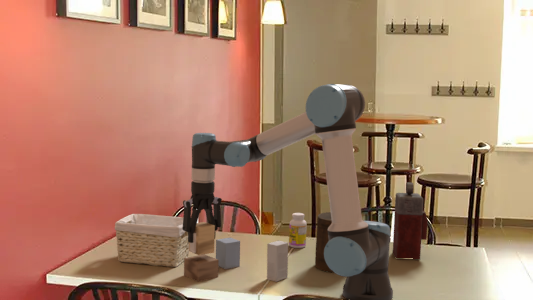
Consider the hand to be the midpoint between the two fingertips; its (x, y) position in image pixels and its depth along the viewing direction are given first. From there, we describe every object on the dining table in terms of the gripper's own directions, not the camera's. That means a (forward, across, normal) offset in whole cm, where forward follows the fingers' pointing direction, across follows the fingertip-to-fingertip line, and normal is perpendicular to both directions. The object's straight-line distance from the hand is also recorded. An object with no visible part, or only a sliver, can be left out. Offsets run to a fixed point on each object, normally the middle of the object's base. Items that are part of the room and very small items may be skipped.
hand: (201, 250), depth 221 cm
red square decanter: (+8, -78, +22) cm, 82 cm away
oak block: (0, 0, 0) cm, 0 cm away
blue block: (+9, -14, -5) cm, 17 cm away
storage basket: (+9, +4, -25) cm, 26 cm away
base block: (+9, 0, 0) cm, 9 cm away
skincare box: (+9, -19, +16) cm, 26 cm away
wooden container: (+9, -45, +17) cm, 49 cm away
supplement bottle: (+9, -52, -12) cm, 54 cm away
